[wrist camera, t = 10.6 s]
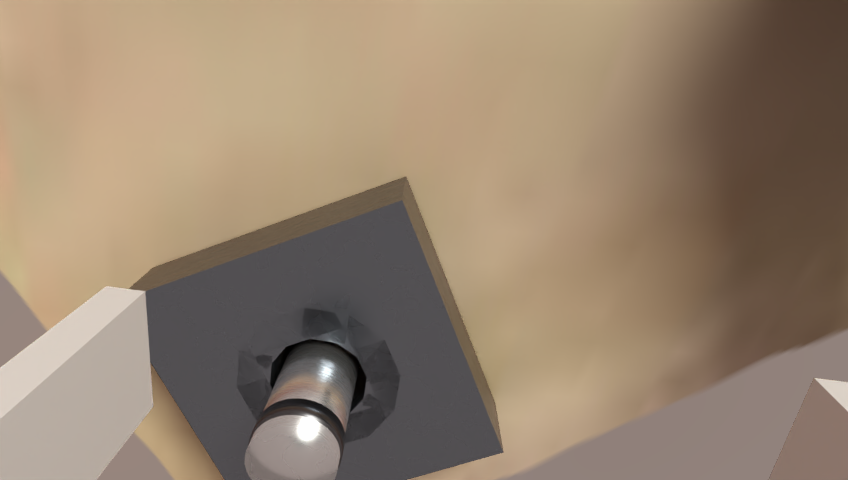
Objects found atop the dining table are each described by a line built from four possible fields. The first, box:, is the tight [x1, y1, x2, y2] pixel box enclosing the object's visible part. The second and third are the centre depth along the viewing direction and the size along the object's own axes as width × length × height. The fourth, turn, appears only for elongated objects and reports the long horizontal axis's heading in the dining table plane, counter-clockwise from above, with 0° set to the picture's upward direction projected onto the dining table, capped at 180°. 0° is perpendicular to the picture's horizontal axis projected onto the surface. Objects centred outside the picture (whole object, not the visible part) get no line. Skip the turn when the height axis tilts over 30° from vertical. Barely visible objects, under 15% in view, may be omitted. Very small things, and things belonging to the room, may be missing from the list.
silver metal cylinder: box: [245, 339, 360, 480], centre depth 34 cm, size 5×5×12 cm
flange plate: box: [129, 177, 503, 480], centre depth 37 cm, size 18×18×5 cm
